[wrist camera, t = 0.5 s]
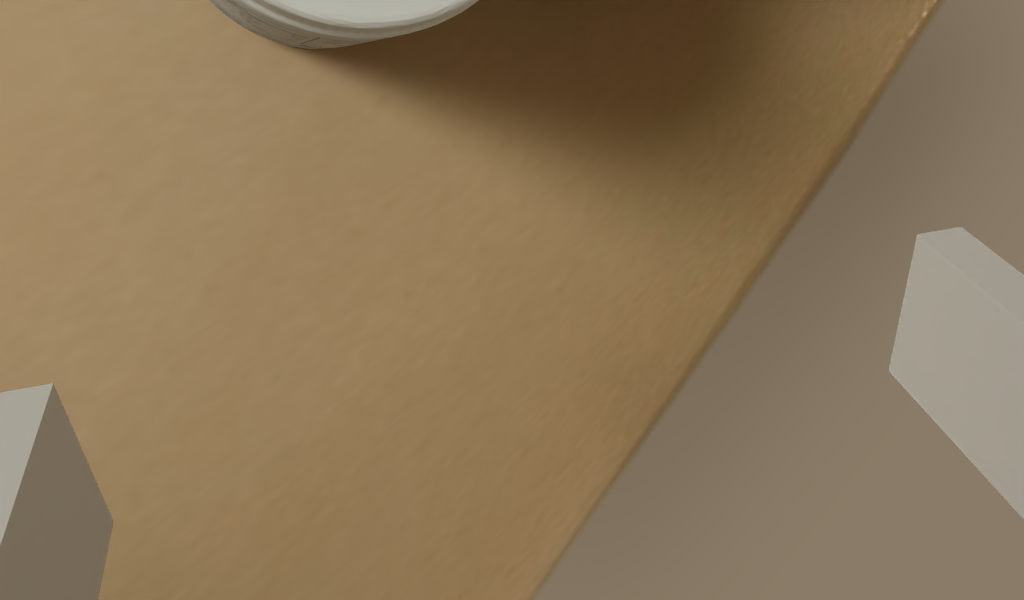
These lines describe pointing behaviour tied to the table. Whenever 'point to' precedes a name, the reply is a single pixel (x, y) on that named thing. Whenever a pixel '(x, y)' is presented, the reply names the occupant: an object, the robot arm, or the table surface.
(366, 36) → the supplement tub
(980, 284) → the robot arm
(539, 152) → the table surface
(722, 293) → the table surface
